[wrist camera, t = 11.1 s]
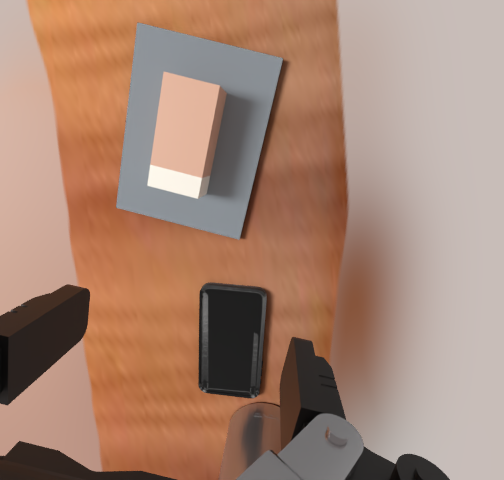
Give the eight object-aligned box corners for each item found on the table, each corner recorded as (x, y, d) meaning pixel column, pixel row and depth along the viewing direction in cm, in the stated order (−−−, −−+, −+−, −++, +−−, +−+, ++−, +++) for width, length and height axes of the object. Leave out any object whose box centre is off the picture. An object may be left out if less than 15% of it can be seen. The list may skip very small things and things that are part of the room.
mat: (240, 238, 34) (239, 239, 33) (118, 206, 34) (116, 207, 34) (283, 60, 29) (283, 58, 28) (140, 25, 29) (137, 22, 29)
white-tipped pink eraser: (176, 80, 30) (163, 71, 26) (226, 93, 30) (219, 85, 26) (161, 182, 32) (147, 185, 29) (206, 194, 32) (197, 198, 29)
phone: (198, 392, 39) (199, 284, 35) (200, 385, 40) (202, 280, 36) (259, 399, 39) (268, 290, 35) (260, 392, 40) (268, 286, 36)
